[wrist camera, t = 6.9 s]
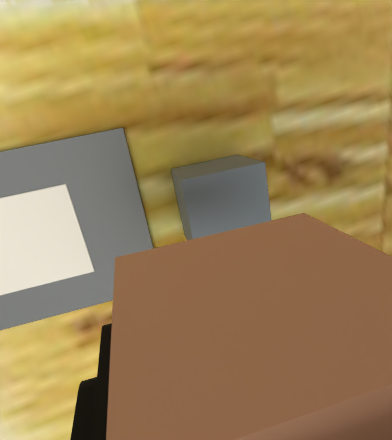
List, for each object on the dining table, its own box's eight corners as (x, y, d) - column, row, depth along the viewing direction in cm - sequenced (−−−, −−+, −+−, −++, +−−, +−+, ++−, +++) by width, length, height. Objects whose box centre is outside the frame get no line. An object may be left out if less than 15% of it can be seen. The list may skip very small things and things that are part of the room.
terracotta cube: (304, 213, 10) (541, 331, 4) (309, 359, 12) (477, 571, 6) (114, 257, 9) (103, 485, 3) (155, 409, 11) (192, 711, 5)
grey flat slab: (123, 127, 24) (122, 127, 23) (161, 280, 29) (162, 287, 28) (-127, 176, 22) (-143, 179, 21) (-43, 334, 27) (-52, 345, 25)
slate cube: (237, 154, 27) (264, 162, 21) (245, 218, 29) (273, 240, 23) (170, 168, 26) (181, 180, 21) (183, 233, 28) (197, 260, 23)
